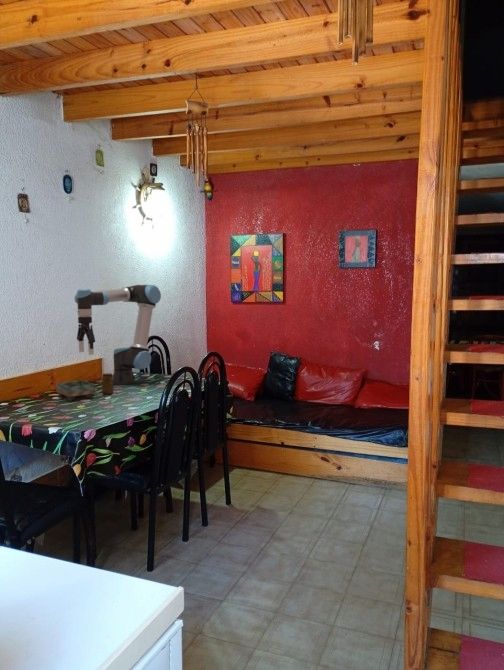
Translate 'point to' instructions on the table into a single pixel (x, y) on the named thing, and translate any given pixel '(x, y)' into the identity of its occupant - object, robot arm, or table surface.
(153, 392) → the table surface
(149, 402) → the table surface
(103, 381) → the condiment
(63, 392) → the shallow square tray
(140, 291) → the robot arm
